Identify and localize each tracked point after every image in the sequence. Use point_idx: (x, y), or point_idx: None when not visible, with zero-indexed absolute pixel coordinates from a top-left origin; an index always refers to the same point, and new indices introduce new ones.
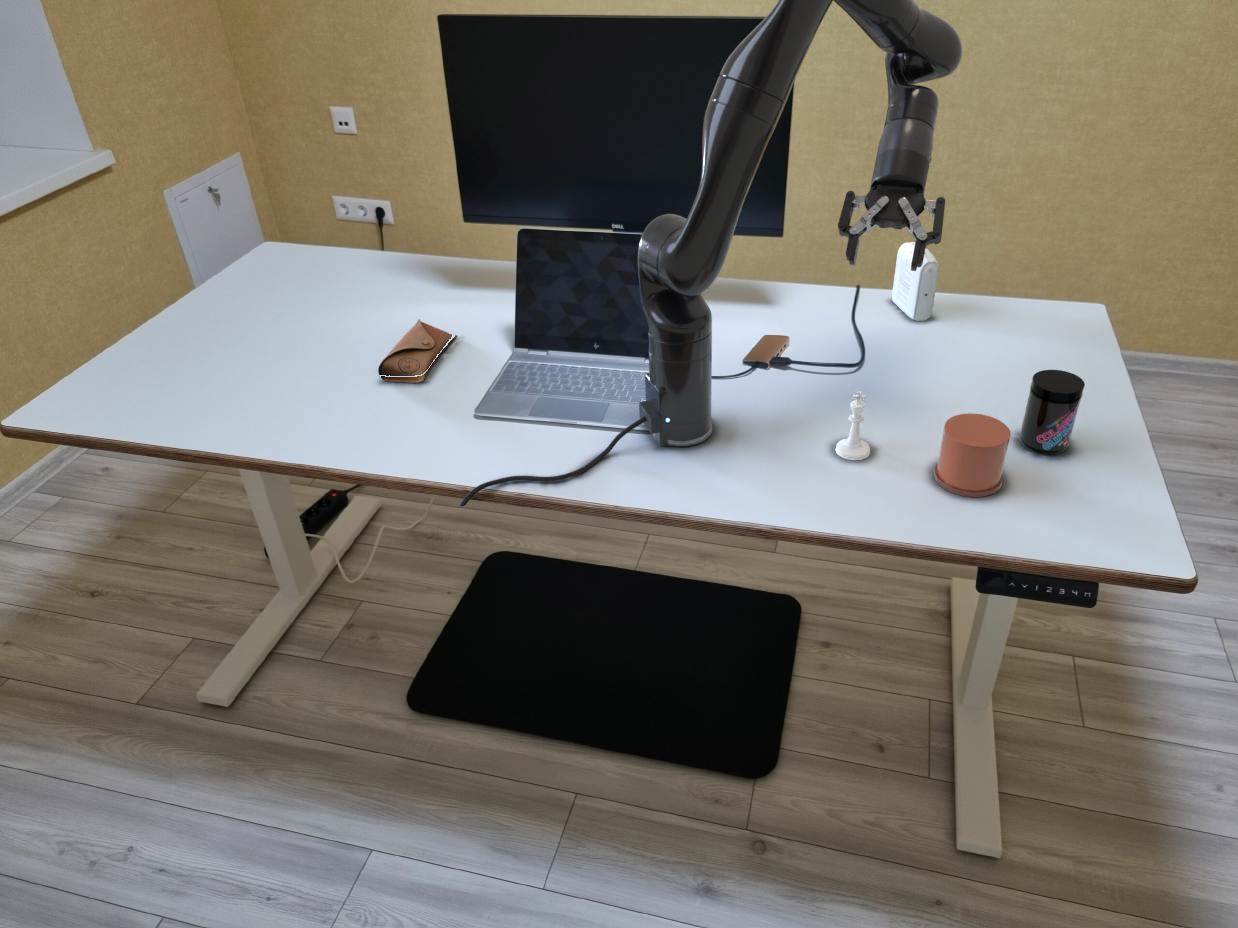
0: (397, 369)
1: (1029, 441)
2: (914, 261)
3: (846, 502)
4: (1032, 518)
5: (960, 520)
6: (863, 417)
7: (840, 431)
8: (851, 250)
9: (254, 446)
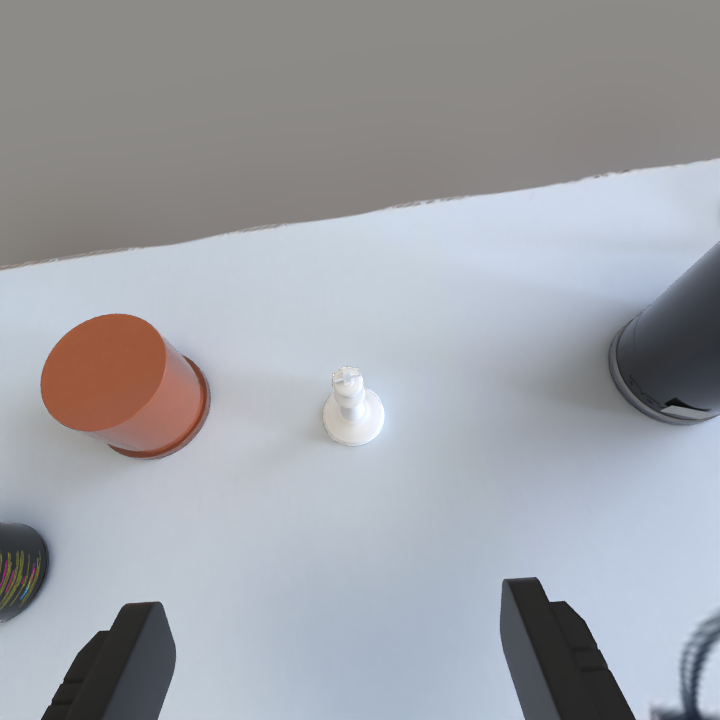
0: None
1: (28, 531)
2: (130, 618)
3: (331, 282)
4: None
5: (169, 298)
6: (335, 397)
7: (391, 474)
8: (554, 624)
9: None
